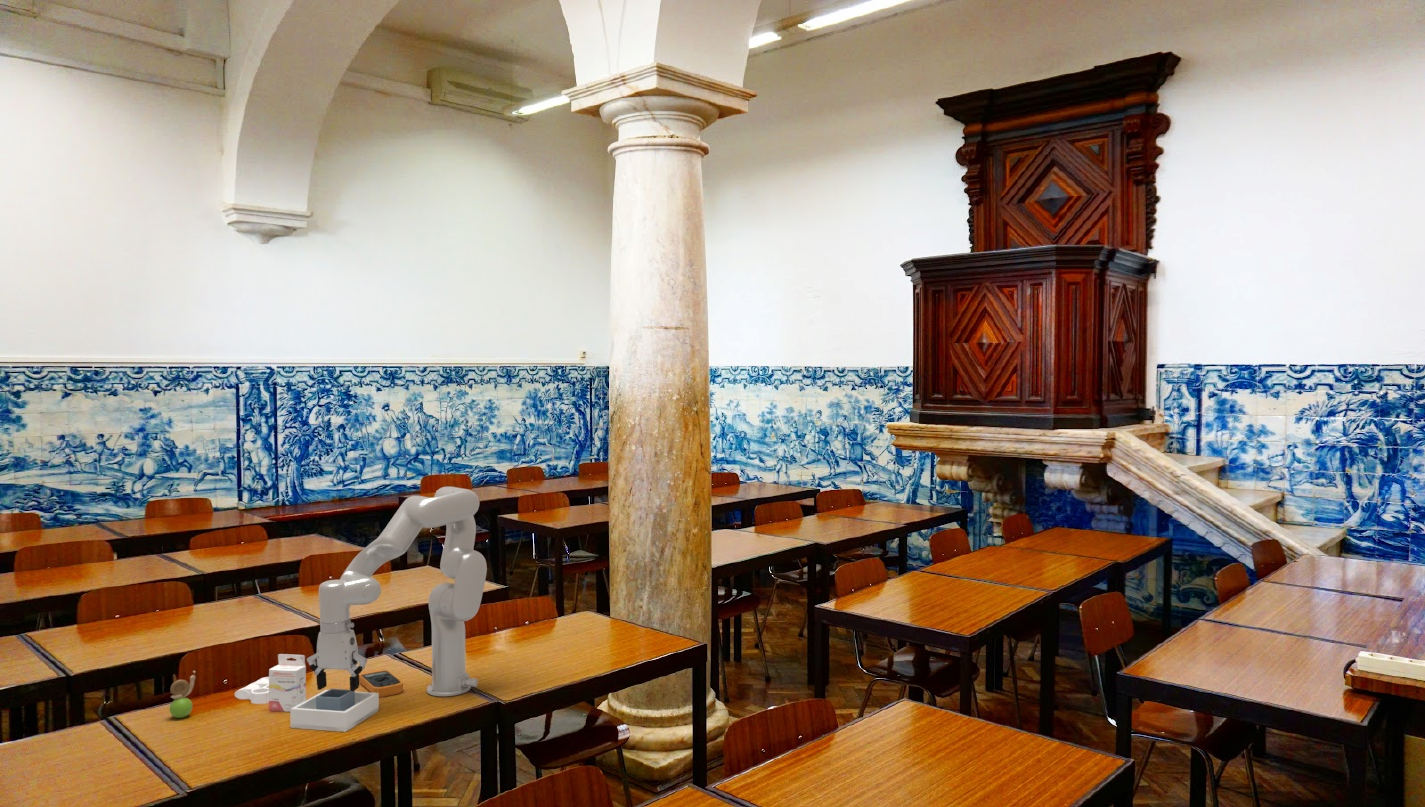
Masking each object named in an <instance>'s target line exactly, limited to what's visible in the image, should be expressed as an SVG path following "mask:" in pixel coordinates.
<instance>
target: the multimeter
mask: <svg viewBox="0 0 1425 807" xmlns="http://www.w3.org/2000/svg"><path fill="white" fill-rule="evenodd" d="M359 685H362V686H363V687H364V688H365V689H367V690H368V692H371V693H379V698H383V697H384V698H385V697H389V696H396V695H399V694H401V693H402V692H403V690H404V682H403V681H402V680H400V679H399V678H398V677H396V676H395V675H394V674H392V673H391V672H390V671H389V670H388V669H387V668H385V669H384V668H383V669H382V668H381V669H377V670H369V671H366V672H361V673H360V674H359Z"/></svg>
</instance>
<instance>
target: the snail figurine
mask: <svg viewBox="0 0 1425 807" xmlns="http://www.w3.org/2000/svg"><path fill="white" fill-rule="evenodd" d="M192 673H193V674H192V675H191V676H189V682H188V681H187V680H186V679H182V678H181V679H177V680H175V681H173V683H172V684H171V686H170V693H171V694H172V695H171V696H170V698H172V699H173V701H172V702H171V703H170V705H169V712H170V714H171V716H172V717H173V718H177V719H183V718H185V717H187V716H188V715H190V713H191V712H192V710H193V702H192V700H190V699H189V698H188V697H187V696H189V695H190V694H191V693H192V691H193V689H194V685H195V680H196V674H195V673H196V671H195V670H193V671H192Z"/></svg>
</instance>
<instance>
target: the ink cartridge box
mask: <svg viewBox="0 0 1425 807" xmlns="http://www.w3.org/2000/svg"><path fill="white" fill-rule="evenodd" d="M291 658H292V659H293V660H289V659H291ZM277 660H278V662H277V663H278V664H277V665H274V666H273V667H271V668H269V670H268V677H269V703H268V710H269V711H270V712H285V713H286V712H287V713H289V712H290V709H291V708H293V707H295V706H297V705H299V704H301V703H302V702H304V701H306V700H307V684H306V683H307V679H306V678H307V675H306V674H307V673H306V672H307V666H306V656H305V655H304V654H288V653H285V654H284V653H279V654H277Z"/></svg>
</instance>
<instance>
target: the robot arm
mask: <svg viewBox="0 0 1425 807" xmlns="http://www.w3.org/2000/svg"><path fill="white" fill-rule="evenodd" d="M479 507H480V499H479V496H478V495H477V493H476V492H475V491H473V490H471V489H467V488H462V487H456V486H442V487H440V488H439V489H437V490H436V492H435V493H434V496H433V497H428V496H422V495H412V496H409V497H407V498H405V500H404V501H403V502H402V504H401V505H400V506H399V508H398V509H397V511H396V512H395V513H394V515H393V516H392V518H391V519H390V521H388V523H387V525H386V527H385V528H384V529H383V530H382V532H381V533H380V534H379V536H378V537H377V538H376V539H374V540H373V541H372V542H370V543H369V544H368V545H367V546H366V547H364V548H363V549H362V550H361V551H360V552H359V553H358V554H357V555H356V556H355V557H354V558H353V559H352V561H351V562H350V563H349V564H348V566H347V567H346V569H344V571H343V573H342V575H341V576H340V578H339V579H330V580H326V581H324V582H323V581H322V583H320V584H319V586H318V601H319V602H318V603H319V605H318V606H319V621H320V622H319V626H320V629H319V630H320V631H319V632H318V635H317V641H316V653H314V654H313V655H312V654H311V656H309V657H307V658H306V661H307V663H308V665H309V668H310V669H311V670H312V672H313V674H314V676H316V686H317V687H316V688H317V691H320V690H322V689H324V688H326V687H328V686H327V673H326V671H325V670H340V671H341V670H343V671H345V670H346V671H347V672H348V673H349V674H350V677H349V690H350V691H354V690H355V691H357V690H358V689H359V687H360V682H359V674H361V673H362V671H363V670H364V669H365V667H366V665H367V663H368V659H367V658H366V657H364V656H363V655H361V654H360V653H359V649H358V648H359V647H358V643H357V642H358V641H357V638H356V634H355V630H354V627H355V623H354V622H352V621H351V614H350V613H351V610H350V607H351V606H363V605H364V606H365V605H369V604H371V603H372V604H373V603H374V602H375V601H377V600H378V599H379V597H380V596H381V594H382V586H381V584H380V582H379V581H378V580H377V579H376V578H374V577H372V576H373V574H374V573H375V572H376V571H377V570H378V569H379V568H380V567H381V566H382V565H384V564H385V563H387V562H389V561H392V560H394V559H397V558H398V557H400V556H402V555H404V554H406V552H407V551H408V550H409V548H410V547H411V545H412V543H413V542H414V540H415V539H416V538H417V536H418V535H419V533H420V532H421V530H422V529H423V528H428V529H431V528H432V529H433V528H438V527H443V526H446V530H445V540H444V544H443V547H442V548H443V549H442V554H441V558H440V565H439V567H440V568H439V570H440V571H441V574H443V575H444V576H445V577H446V578H449V579H452V580H454V583H452V582H442V583H439V584H437V585H436V586H434V587H433V588H432V590H431V591H430V593H429V594H428V595H429V596H428V601H427V602H428V610H429V615H430V623H431V675H432V676H431V683H430V684H429V685H427V687H426V693H427V694H429V695H431V696H433V697H453V696H459V695H463V694H465V693H468V692H469V691H470V690H471V687H472V688H477V687H478V684H479V682H478V678H475V677H472V678H471V677H470V674H469V672H466V624H465V622H467V621H469V620H472V619H473V618H474V617H475V616H476V614H477V613H478V611H479V609H480V606H481V603H482V598H483V593H484V589H485V583H486V578H487V572H488V568H487V560H486V558H485V557H484V555H483V554H482V553H481V552H479V551H477V550H474V548H475V547H474V546H475V541H476V533H477V532H476V531H477V525H476V520H475V517H474V516H475V514H476V513H477V512H478V510H479V509H480V508H479ZM351 628H352V629H351Z"/></svg>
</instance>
